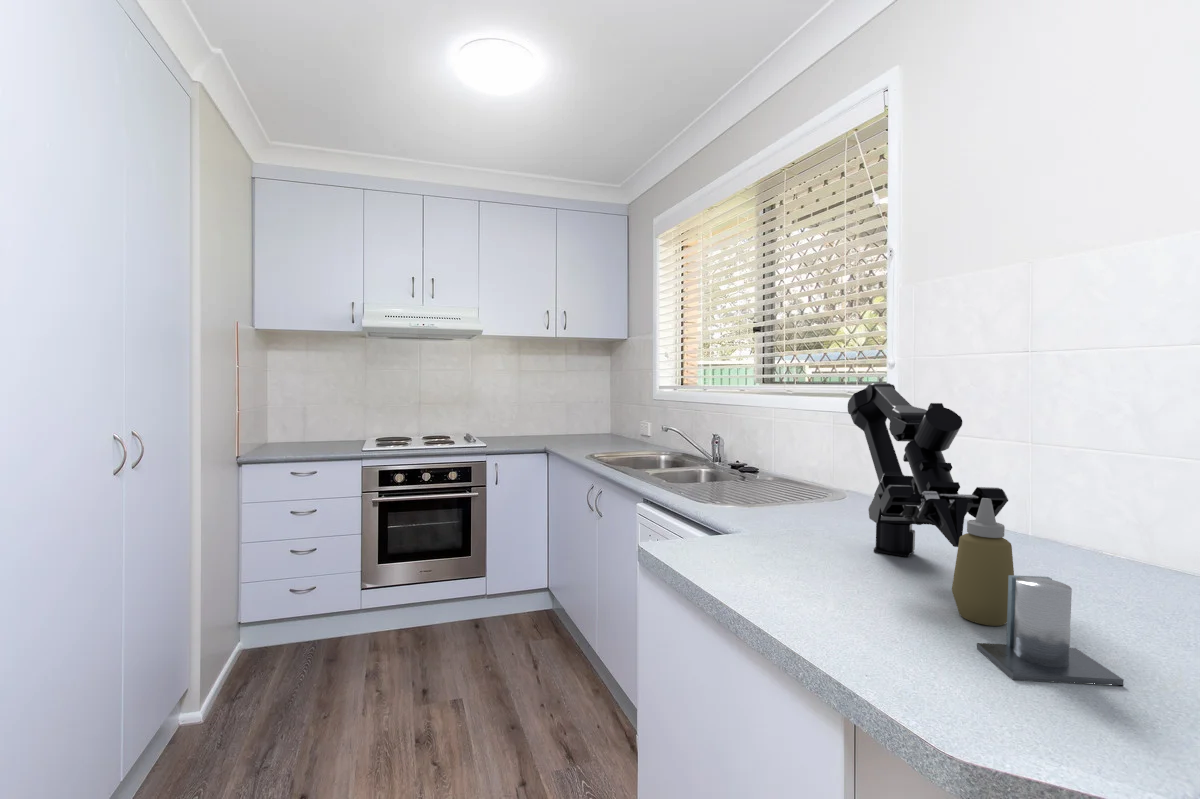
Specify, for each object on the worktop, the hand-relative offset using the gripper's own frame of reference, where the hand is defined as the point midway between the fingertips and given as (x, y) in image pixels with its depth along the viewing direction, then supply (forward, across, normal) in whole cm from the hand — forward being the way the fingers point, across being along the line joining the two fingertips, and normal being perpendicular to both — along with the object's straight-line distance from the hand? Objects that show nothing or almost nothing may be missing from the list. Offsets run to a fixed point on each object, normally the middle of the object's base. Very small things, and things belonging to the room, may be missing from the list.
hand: (957, 545), depth 94 cm
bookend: (+22, 0, +10) cm, 24 cm away
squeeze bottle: (+12, 0, -1) cm, 12 cm away
